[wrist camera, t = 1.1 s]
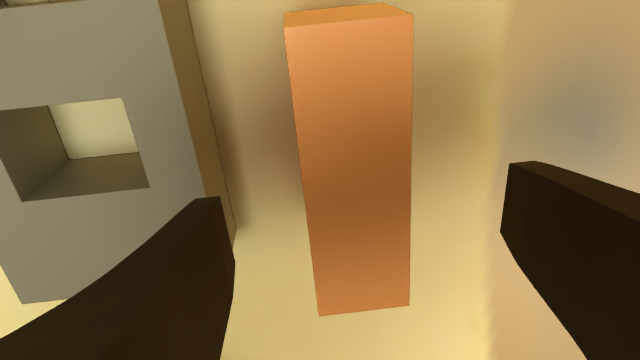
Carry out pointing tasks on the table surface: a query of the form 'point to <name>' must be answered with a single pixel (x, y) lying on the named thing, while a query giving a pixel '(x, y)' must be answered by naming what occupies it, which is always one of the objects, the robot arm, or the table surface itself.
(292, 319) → the table surface
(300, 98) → the orange c-shaped bracket
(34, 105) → the socket rail
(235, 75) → the table surface
